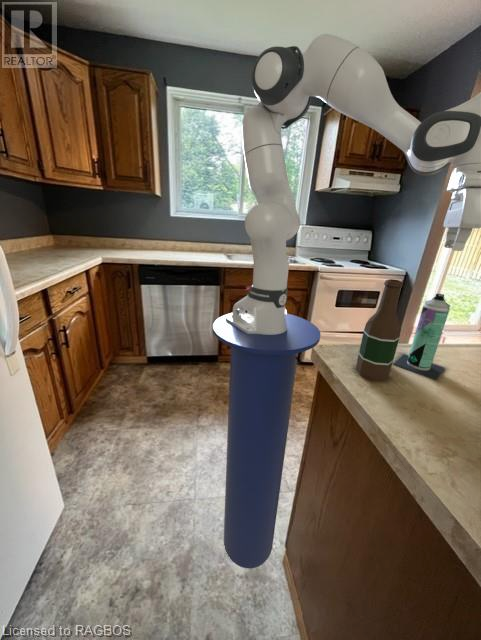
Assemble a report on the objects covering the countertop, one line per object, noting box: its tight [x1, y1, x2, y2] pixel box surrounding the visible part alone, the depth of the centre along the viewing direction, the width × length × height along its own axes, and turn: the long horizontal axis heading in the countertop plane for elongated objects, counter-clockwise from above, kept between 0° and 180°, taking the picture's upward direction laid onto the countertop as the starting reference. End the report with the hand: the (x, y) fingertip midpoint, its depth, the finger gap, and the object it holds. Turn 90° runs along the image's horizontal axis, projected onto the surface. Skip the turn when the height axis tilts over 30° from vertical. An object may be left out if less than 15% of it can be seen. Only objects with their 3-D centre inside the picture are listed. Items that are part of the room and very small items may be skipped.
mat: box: [393, 353, 445, 381], centre depth 74 cm, size 10×9×1 cm
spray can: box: [407, 293, 451, 371], centre depth 70 cm, size 6×6×20 cm
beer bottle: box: [355, 278, 404, 382], centre depth 65 cm, size 8×8×24 cm
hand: (452, 249), depth 63 cm, fingers open, 8 cm apart
